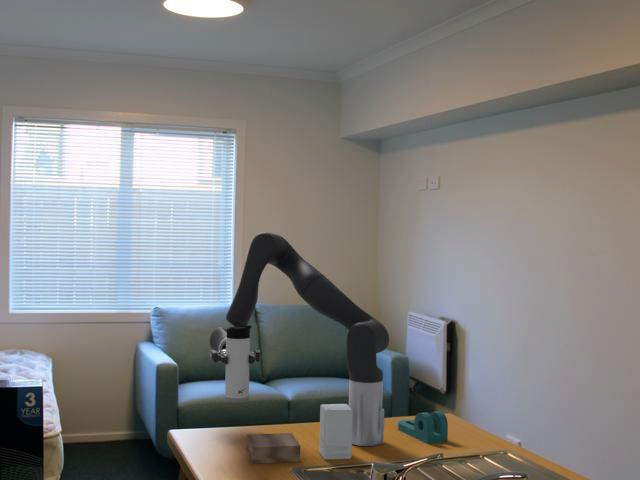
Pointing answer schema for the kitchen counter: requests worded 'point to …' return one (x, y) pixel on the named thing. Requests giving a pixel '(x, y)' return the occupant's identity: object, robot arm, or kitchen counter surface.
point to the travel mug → (237, 364)
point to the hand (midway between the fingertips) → (238, 360)
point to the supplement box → (335, 431)
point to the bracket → (426, 427)
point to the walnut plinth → (273, 448)
